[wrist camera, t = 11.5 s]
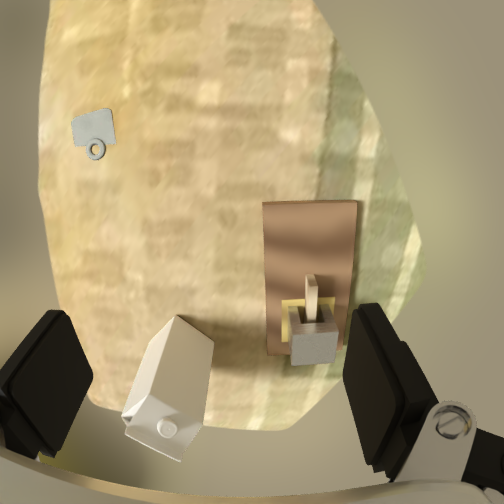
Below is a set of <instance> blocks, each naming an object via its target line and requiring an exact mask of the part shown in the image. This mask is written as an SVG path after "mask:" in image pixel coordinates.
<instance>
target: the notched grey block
mask: <svg viewBox="0 0 504 504" xmlns="http://www.w3.org/2000/svg"><path fill="white" fill-rule="evenodd" d="M338 334H339V331H338V328H337V325H336V322H335V320H334V317H333V314H332V311H331V309H330V306H329V304H320V308H319V320H318V323H309V324H301V322H300V317H299V312H298V308H297V306H288V329H287V337H288V344H289V351H290V358H291V366H298V365H312V364H323V363H334V361H335V355H336V348H337V341H338Z"/></svg>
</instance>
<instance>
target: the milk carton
mask: <svg viewBox="0 0 504 504" xmlns="http://www.w3.org/2000/svg"><path fill="white" fill-rule="evenodd" d="M213 350H214V341H212V340H211V339H210V338H208V337H207V336H205V335H204V334H202V333H201V332H200V331H198V330H197V329H195V328H194V327H193V326H191V325H190V324H188V323H187V322H186V321H184V320H183V319H181V318H180V317H179V316H177V315H175V316H174V317H173V318H172V319H171V320H170V321H169V322H168V323H167V324H166V325H165V326H164V327H163V328H162V329H161V330H160V331H159V332H158V333H157V334H156V335H155V336H154V337H153V338H152V339H151V340H150V342H149V344H148V347H147V349H146V352H145V354H144V357H143V359H142V362H141V365H140V367H139V370H138V372H137V375H136V378H135V380H134V383H133V386H132V388H131V391H130V394H129V396H128V399H127V402H126V405H125V407H124V410H123V413H122V416H121V417H122V419H123V421H124V422H125V424H126V426H127V428H126V431H125V435H127V436H129V437H131V438H132V439H134V440H136V441H138V442H140V443H142V444H144V445H145V446H147V447H149V448H151V449H153V450H155V451H158V452H160V453H162V454H164V455H166V456H168V457H170V458H172V459H174V460H177V461H179V462H181V461H182V455H183V453H184V452H185V450H186V449H187V447H188V446H189V444H190V443H191V442H192V440H193V439H194V437H195V436H196V434H197V433H198V431H199V430H200V428H201V427H202V425H203V420H204V413H205V406H206V398H207V391H208V384H209V377H210V370H211V363H212V357H213Z"/></svg>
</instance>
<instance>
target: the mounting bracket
mask: <svg viewBox="0 0 504 504" xmlns="http://www.w3.org/2000/svg"><path fill="white" fill-rule="evenodd" d="M71 126H72V132H73V138H74V144H75V147H78V146H86V153H87V156H88V157H89V158H90V159H92V160H99V159H101V158H102V157H103V156H104V153H105V145H106V144H116V140H115V133H114V126H113V119H112V112H111V110H110V109H108V108H104V109H100V110H97V111H93V112H90V113H87V114H84V115H81V116H78V117H75V118H74V119H73V120H72V122H71ZM92 145H98V146H99V147H100V151H99V153H98V154H97V155H94V154H92V152H91V147H92Z"/></svg>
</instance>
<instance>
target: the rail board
mask: <svg viewBox="0 0 504 504" xmlns="http://www.w3.org/2000/svg"><path fill="white" fill-rule="evenodd" d="M262 205H263V232H264V260H265V290H266V323H267V354H268V355H286V354H290V351H289V344H288V337H287V329H288V306H297V308H298V312H299V317H300V322H301V324H309V323H318V320H319V308H320V304H329V306H330V309H331V311H332V314H333V317H334V320H335V322H336V325H337V328H338V331H339V334H338V341H337V348H336V351H337V350H342V347H343V340H344V333H345V326H346V319H347V312H348V304H349V296H350V287H351V278H352V268H353V257H354V246H355V233H356V217H357V202H356V201H355V200H318V201H283V202H262Z"/></svg>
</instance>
